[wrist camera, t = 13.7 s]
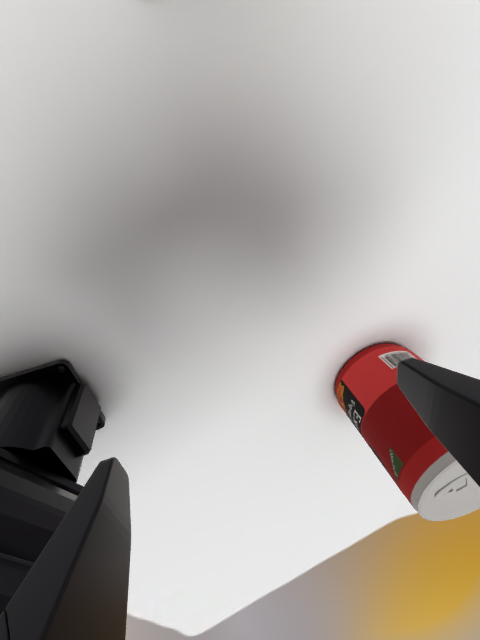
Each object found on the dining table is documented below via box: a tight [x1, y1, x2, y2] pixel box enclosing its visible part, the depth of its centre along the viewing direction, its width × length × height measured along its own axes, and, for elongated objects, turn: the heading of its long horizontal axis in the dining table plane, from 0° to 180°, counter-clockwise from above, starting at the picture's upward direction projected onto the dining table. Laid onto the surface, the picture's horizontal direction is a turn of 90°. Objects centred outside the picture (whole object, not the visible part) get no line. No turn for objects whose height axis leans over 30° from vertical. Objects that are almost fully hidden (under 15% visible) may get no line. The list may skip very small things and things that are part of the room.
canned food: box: [335, 343, 480, 521], centre depth 24 cm, size 8×8×11 cm
